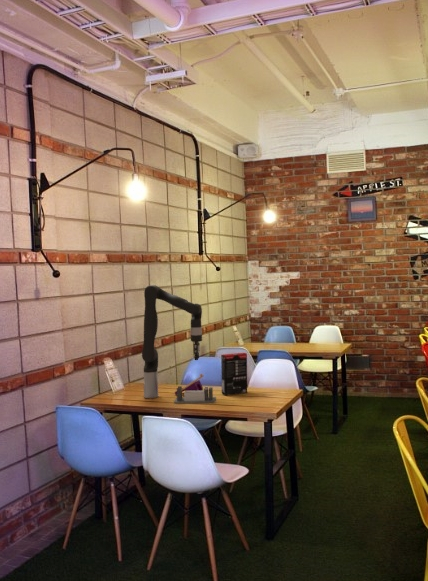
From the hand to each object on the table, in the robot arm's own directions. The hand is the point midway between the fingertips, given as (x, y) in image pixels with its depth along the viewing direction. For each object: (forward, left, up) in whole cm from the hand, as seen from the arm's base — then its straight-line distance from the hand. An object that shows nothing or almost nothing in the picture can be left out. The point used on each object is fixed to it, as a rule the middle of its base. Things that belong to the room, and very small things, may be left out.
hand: (196, 359), depth 379 cm
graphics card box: (+24, +10, -26) cm, 37 cm away
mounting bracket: (-8, +9, -26) cm, 29 cm away
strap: (-3, -10, -15) cm, 18 cm away
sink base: (-1, -10, -26) cm, 28 cm away
